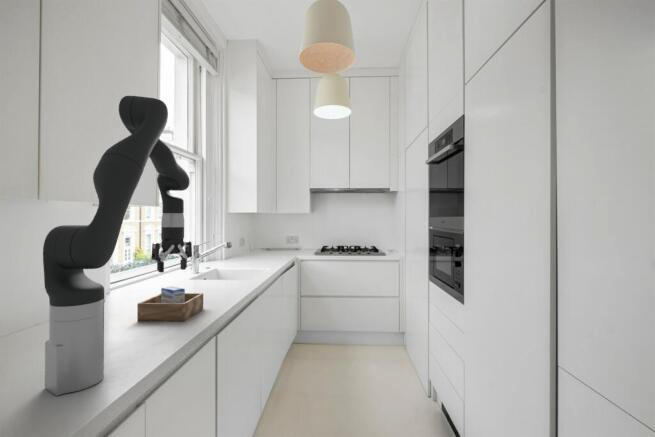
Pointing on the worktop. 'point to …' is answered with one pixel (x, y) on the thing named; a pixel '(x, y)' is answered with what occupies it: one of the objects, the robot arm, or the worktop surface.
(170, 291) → the medicine box
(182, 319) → the storage box
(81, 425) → the worktop surface
